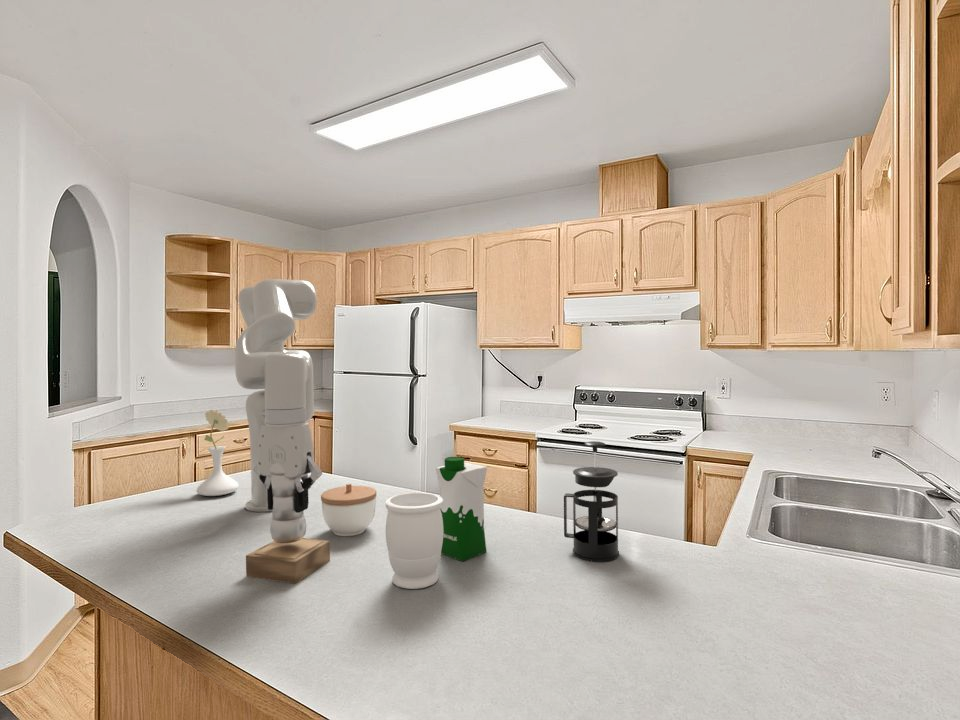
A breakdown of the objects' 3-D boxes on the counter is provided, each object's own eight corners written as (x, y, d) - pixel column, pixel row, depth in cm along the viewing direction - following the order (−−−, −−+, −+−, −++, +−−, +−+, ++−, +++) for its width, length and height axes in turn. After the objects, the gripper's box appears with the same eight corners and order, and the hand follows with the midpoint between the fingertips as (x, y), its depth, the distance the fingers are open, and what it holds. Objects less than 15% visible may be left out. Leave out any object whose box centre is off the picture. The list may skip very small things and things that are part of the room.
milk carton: (432, 553, 112) (431, 457, 111) (463, 541, 119) (462, 451, 118) (462, 564, 106) (461, 463, 105) (493, 551, 113) (492, 456, 112)
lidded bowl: (310, 536, 123) (309, 488, 122) (343, 519, 134) (342, 475, 134) (356, 543, 118) (355, 493, 118) (387, 525, 130) (386, 480, 129)
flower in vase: (245, 493, 160) (243, 409, 159) (205, 501, 152) (202, 413, 151) (228, 485, 169) (225, 406, 168) (188, 493, 161) (186, 410, 160)
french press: (624, 547, 114) (623, 439, 113) (620, 565, 105) (620, 447, 104) (568, 541, 117) (567, 436, 117) (560, 558, 108) (559, 444, 108)
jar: (452, 572, 102) (451, 494, 102) (430, 596, 93) (428, 510, 92) (402, 565, 106) (401, 489, 105) (375, 588, 96) (374, 504, 96)
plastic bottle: (299, 547, 102) (298, 442, 101) (264, 547, 102) (262, 442, 101) (311, 535, 108) (309, 436, 108) (278, 535, 108) (276, 436, 108)
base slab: (284, 554, 112) (283, 534, 112) (329, 560, 109) (329, 540, 109) (246, 576, 102) (245, 554, 101) (295, 583, 98) (295, 561, 98)
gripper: (235, 418, 103) (238, 511, 104) (312, 421, 98) (314, 519, 99) (262, 413, 111) (264, 500, 111) (335, 415, 105) (337, 507, 106)
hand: (288, 508), depth 105 cm, fingers closed on plastic bottle, 5 cm apart
